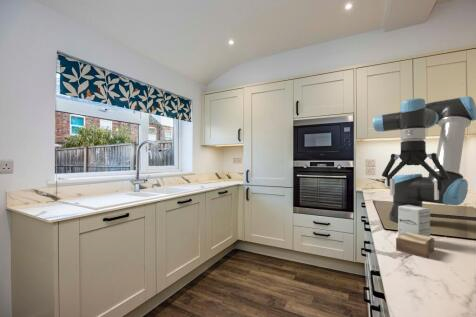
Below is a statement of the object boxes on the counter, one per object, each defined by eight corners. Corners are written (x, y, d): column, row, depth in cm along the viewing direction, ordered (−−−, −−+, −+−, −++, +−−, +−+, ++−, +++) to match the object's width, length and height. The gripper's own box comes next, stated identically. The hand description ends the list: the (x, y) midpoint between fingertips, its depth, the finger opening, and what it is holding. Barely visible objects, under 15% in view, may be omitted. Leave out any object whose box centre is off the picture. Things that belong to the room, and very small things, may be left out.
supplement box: (397, 238, 88) (397, 205, 88) (409, 236, 91) (409, 204, 91) (418, 245, 82) (418, 209, 82) (431, 242, 84) (430, 207, 85)
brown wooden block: (405, 243, 83) (405, 231, 83) (434, 250, 77) (434, 237, 77) (396, 250, 77) (396, 237, 77) (426, 258, 71) (426, 244, 71)
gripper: (372, 142, 94) (373, 194, 94) (456, 137, 75) (456, 202, 74) (379, 143, 99) (380, 192, 98) (460, 138, 79) (460, 200, 79)
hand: (413, 197), depth 86 cm, fingers open, 13 cm apart
